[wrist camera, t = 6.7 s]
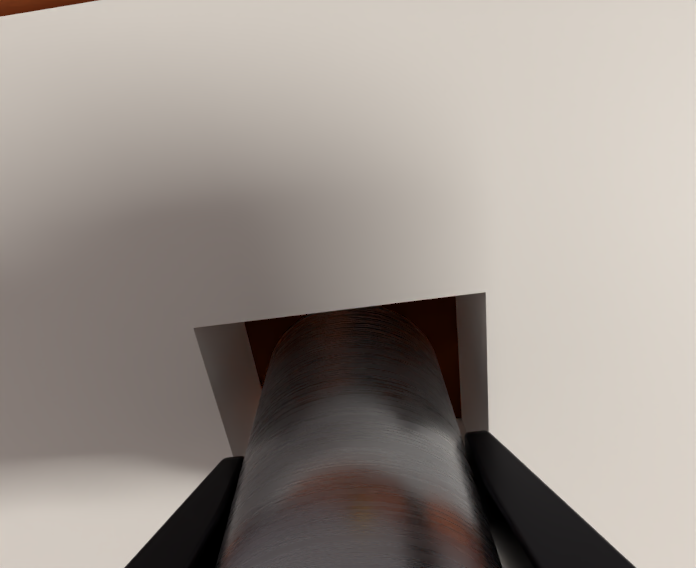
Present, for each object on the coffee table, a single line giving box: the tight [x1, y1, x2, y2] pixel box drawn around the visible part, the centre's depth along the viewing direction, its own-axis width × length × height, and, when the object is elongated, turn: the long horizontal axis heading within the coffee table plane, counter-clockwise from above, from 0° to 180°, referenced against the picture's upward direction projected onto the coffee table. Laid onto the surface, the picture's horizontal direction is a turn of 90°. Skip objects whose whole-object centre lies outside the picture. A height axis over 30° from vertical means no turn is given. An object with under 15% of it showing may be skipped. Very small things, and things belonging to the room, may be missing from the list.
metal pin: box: [215, 306, 502, 568], centre depth 7 cm, size 5×5×9 cm
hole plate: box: [0, 0, 696, 568], centre depth 11 cm, size 20×16×3 cm
